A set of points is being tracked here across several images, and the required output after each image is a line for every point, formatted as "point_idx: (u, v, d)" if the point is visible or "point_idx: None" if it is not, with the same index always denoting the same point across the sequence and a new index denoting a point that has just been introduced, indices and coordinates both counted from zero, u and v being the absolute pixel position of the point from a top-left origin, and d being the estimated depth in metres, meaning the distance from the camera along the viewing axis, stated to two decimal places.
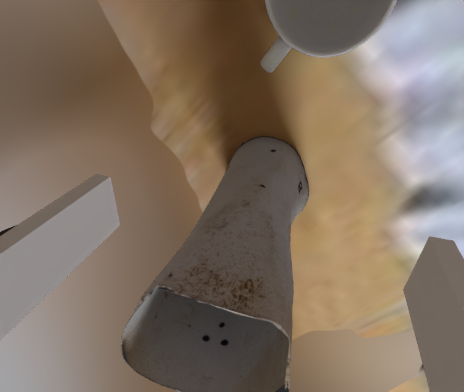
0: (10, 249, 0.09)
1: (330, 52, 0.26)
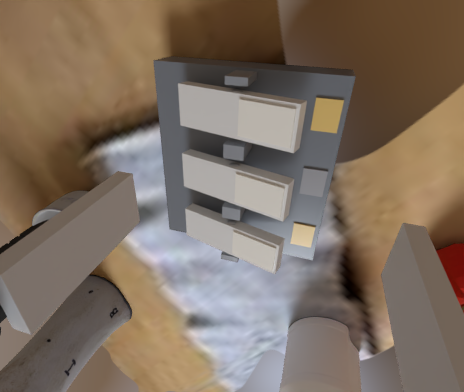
0: (45, 242, 0.09)
1: None
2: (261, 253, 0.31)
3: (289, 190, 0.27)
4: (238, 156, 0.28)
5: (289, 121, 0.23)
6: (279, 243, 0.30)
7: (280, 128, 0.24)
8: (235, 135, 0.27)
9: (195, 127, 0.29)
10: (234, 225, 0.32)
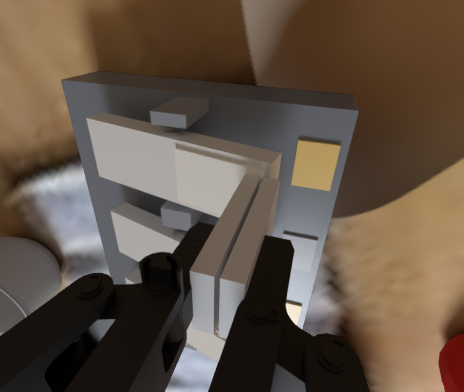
0: None
1: None
2: None
3: None
4: (183, 225, 0.19)
5: None
6: None
7: None
8: (175, 198, 0.17)
9: (119, 181, 0.19)
10: None
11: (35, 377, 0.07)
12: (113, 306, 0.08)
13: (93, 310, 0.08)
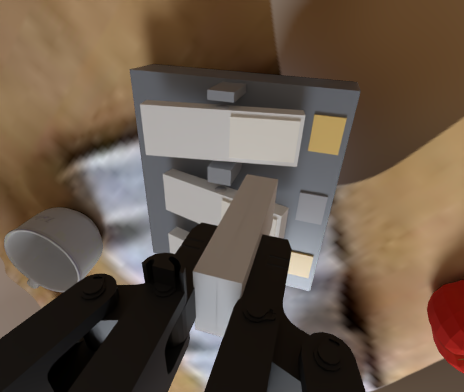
0: None
1: (59, 289, 0.41)
2: None
3: (282, 221, 0.23)
4: (224, 180, 0.24)
5: (293, 134, 0.21)
6: None
7: (282, 143, 0.22)
8: (225, 157, 0.23)
9: (168, 154, 0.24)
10: None
11: (38, 378, 0.07)
12: (116, 307, 0.08)
13: (96, 311, 0.08)
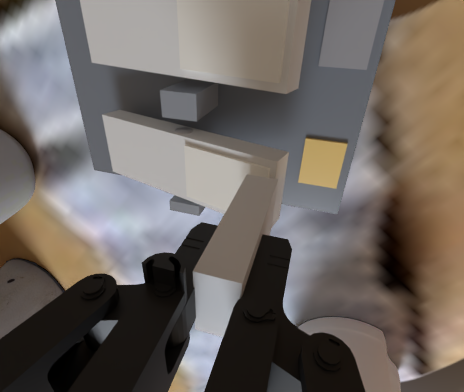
0: None
1: None
2: None
3: (302, 0, 0.11)
4: None
5: None
6: (277, 158, 0.14)
7: None
8: None
9: None
10: (187, 134, 0.16)
11: (38, 378, 0.07)
12: (116, 307, 0.08)
13: (96, 311, 0.08)
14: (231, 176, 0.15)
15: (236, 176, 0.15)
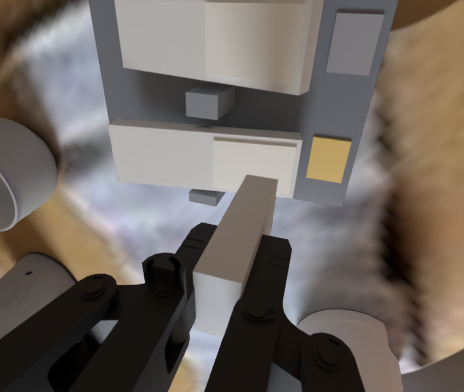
0: None
1: None
2: (269, 166, 0.18)
3: (314, 16, 0.13)
4: None
5: None
6: (299, 138, 0.18)
7: None
8: None
9: None
10: (212, 130, 0.18)
11: (38, 378, 0.07)
12: (116, 307, 0.08)
13: (96, 311, 0.08)
14: (261, 159, 0.18)
15: (266, 158, 0.18)
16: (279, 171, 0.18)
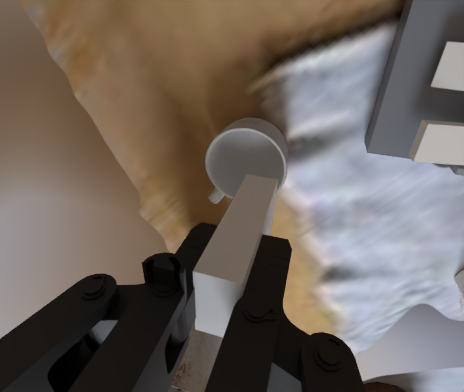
0: None
1: None
2: None
3: None
4: None
5: None
6: None
7: None
8: None
9: None
10: None
11: (38, 378, 0.07)
12: (116, 307, 0.08)
13: (96, 311, 0.08)
14: None
15: None
16: None
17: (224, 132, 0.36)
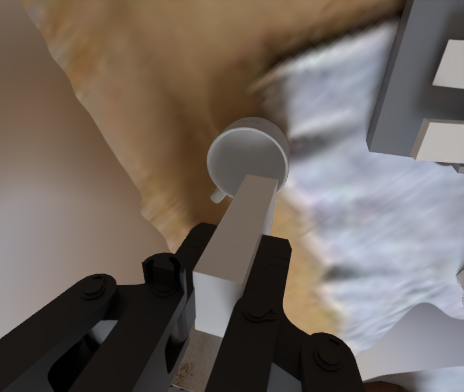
0: None
1: None
2: None
3: None
4: None
5: None
6: None
7: None
8: None
9: None
10: None
11: (38, 378, 0.07)
12: (116, 307, 0.08)
13: (96, 311, 0.08)
14: None
15: None
16: None
17: (225, 132, 0.36)
